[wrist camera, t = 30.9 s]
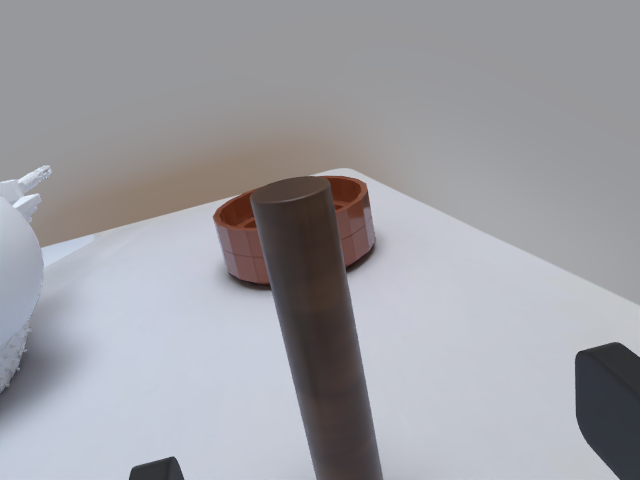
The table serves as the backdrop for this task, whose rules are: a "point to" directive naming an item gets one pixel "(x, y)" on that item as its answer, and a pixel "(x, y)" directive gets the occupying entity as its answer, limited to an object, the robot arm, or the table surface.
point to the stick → (318, 324)
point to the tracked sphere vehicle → (18, 268)
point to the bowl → (243, 236)
